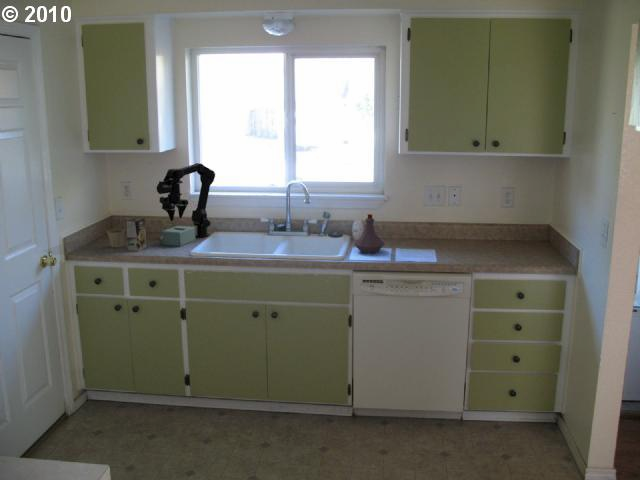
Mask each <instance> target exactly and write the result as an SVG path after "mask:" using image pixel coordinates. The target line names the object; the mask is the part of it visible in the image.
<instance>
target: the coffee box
mask: <svg viewBox="0 0 640 480" xmlns="http://www.w3.org/2000/svg"><path fill="white" fill-rule="evenodd" d="M126 236H127V251H133V252H140V251H142V250H144V249H146V248H147V243H146V241H147V240H146V239H147V238H146V221H145V218H139V217H138V218H132V219H130V220H129V219H128V220H127V221H126Z"/></svg>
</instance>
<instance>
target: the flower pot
mask: <svg viewBox="0 0 640 480" xmlns="http://www.w3.org/2000/svg"><path fill="white" fill-rule="evenodd" d="M125 232H126V230H125V229H119V228H118V229H110V230H106V233H107V235H108V238H109V243H110V248H115V249H116V248H117V249H118V248H122V247H123V246H124V236H125Z"/></svg>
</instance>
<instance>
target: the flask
mask: <svg viewBox="0 0 640 480" xmlns="http://www.w3.org/2000/svg"><path fill="white" fill-rule="evenodd" d="M364 221H365V223H366V224H365V228H364V232H363V234H361V236H360V237H359V238H358V239H357V240H356V241H355V242H354V243H353V245H354V246H355V248H357V249H358V251H361V252H360V253H362V252H363V254H367V253H373V254H377V253H378V252H380V250H381V249H382V248H383V247H384V246H385V242H384V241H383V240H382V239H381V238H380V237H379V236H378V235H377V233H376V231H375V230H376V229H375V226H374V222H375V219H374V218H373V214H370V213H369V214H367V218H366V219H365V220H364ZM376 252H377V253H376Z"/></svg>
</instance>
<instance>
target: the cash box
mask: <svg viewBox="0 0 640 480" xmlns="http://www.w3.org/2000/svg"><path fill="white" fill-rule="evenodd" d="M161 232H162V235H161V236H163V240H162V245H163V246H168V247H178V248H181V247H183V246H186V245H188V244H191V243H194V242H196V237H195V236H196V226H187V225H186V226H185V225H176V226H173V227H170V228H167V229H164V230H162V231H161Z"/></svg>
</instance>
